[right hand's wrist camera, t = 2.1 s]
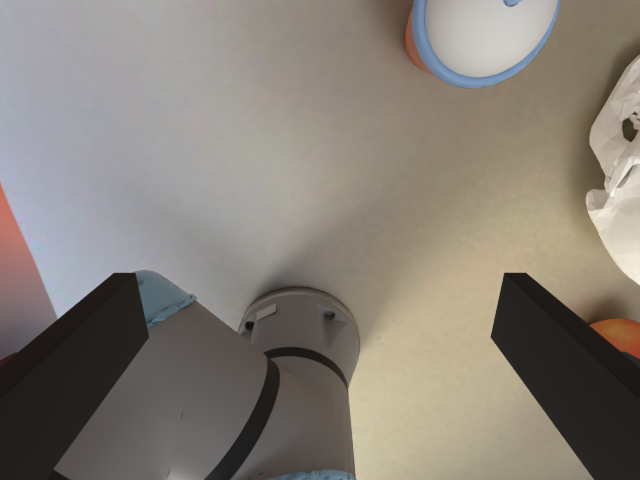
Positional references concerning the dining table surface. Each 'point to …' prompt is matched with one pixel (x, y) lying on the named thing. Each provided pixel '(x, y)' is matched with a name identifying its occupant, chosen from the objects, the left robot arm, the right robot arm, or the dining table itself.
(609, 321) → the apple
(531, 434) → the dining table surface
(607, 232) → the skull
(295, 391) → the right robot arm
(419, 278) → the dining table surface
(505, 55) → the cup with straw
